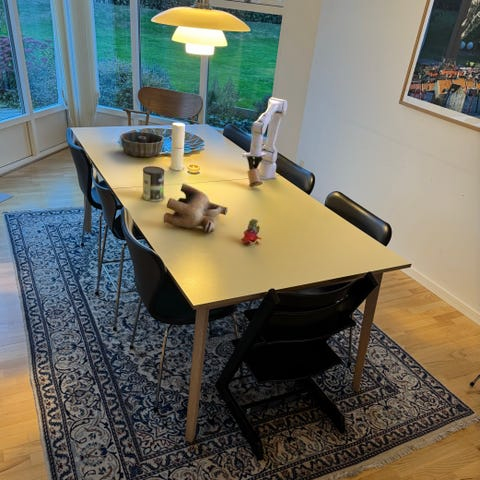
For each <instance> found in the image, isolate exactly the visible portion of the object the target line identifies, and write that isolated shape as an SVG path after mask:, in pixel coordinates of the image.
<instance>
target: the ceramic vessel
mask: <svg viewBox="0 0 480 480" xmlns="http://www.w3.org/2000/svg"><path fill="white" fill-rule="evenodd" d="M180 192H182V193H183V194H184V196H185V197H179V198H178V199H175V198H172V197H170V198H169V199H168V201H167V203H166V208H167V209H168V210H170V211H173V213H170V212H165V213H164V215H163V224H164V223H166V224H170V225H173V226H175V227H181V228H185V229H194V228H197V227H202V231H203V232H204V233H208V234H209V233H214V231H215V230H216V228H217V220H218V217H219V216H220V215H223V216H226V215H227V214H228V209H229V207H227V206H224V205H220V204H217V203H214V202H212V201H210V198H209V197H208V195H207V194H206V193H204V192H203V191H201V190H199V189H197V188H195V187H193V186H191V185H189V184H186V183H184V182H183V183H182V185H181V187H180Z"/></svg>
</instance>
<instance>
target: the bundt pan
mask: <svg viewBox="0 0 480 480" xmlns="http://www.w3.org/2000/svg"><path fill="white" fill-rule="evenodd" d="M119 138H120V141H121V142H120V143H121V147H122V149H123V151H124V152H125V153H126V154H128V155H129V156H134V157H140V158H142V157H145V158H150V157H151V158H153V157H155V156H157V155H159V154H160V153H161V152H162V150H163V146H164V141H165V138H164V137H163V136H162V135H160V134H158V133H153V132H148V131H127V132H123V133H121V134H119Z"/></svg>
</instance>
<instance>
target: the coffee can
mask: <svg viewBox="0 0 480 480" xmlns="http://www.w3.org/2000/svg"><path fill="white" fill-rule="evenodd" d="M165 173H166V172H165V169H164V168H163V167H159V166H157V165H156V166H154V165H150V166H144V167H143V168H142V198H143V199H144V200H146V201H149V202H160V201H162V200H164V194H165V193H164V191H165V189H164V188H165Z"/></svg>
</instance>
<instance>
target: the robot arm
mask: <svg viewBox="0 0 480 480" xmlns="http://www.w3.org/2000/svg"><path fill="white" fill-rule="evenodd" d="M287 110H288V101H287V99H281V98H276V97H273V96H271V97H270V98H269V99H268V102H267V109H266V111H265V112H263V113H262V114H261V115H260V116H259V117H258V119H257V120H256V121H253V123H252V124H251V129H250V131H251V142H250V148H249V149H250V150H249V151H248V152H242V158H243V159H246V160H247V163H248V171H249V170H251V169H252V168H253V163H254V167H255V168H254V169H258V167H259V172H260V177H261V180H267V179H268V180H269V179H276V173H277V163H276V162H277V159H278V149H277V148H276V146H275V144H276V141H277V137H278V133H279V129H280V125H281V121H282V118H283V117H286V114H287ZM270 122H271V124H270ZM269 124H270V128H269V132H268V135H267V138H266V139H267V140H266V142H265V144H264V145H263V139H264V135H265V133H266V131H267V128H268V125H269Z"/></svg>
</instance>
